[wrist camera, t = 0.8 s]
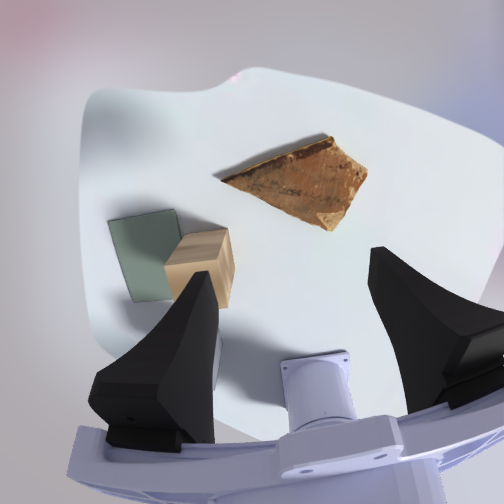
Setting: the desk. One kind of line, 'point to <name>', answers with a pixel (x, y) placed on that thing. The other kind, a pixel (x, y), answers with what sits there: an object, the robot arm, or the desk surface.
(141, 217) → the mat
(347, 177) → the shard
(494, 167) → the desk surface
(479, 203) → the desk surface
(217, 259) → the oak block
